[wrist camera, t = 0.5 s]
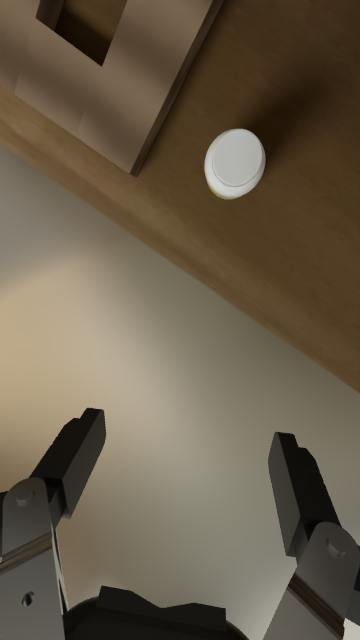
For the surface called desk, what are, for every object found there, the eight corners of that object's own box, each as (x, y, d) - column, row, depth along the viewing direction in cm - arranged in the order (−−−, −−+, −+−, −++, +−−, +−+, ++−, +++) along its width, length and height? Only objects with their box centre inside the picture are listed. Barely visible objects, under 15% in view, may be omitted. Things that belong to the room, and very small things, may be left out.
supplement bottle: (236, 133, 29) (248, 99, 20) (263, 177, 30) (286, 164, 21) (196, 169, 31) (190, 152, 22) (223, 210, 32) (228, 210, 23)
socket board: (40, -210, 22) (15, -271, 19) (242, -37, 24) (246, -69, 21) (-23, 66, 29) (-48, 51, 26) (136, 177, 31) (129, 173, 29)
